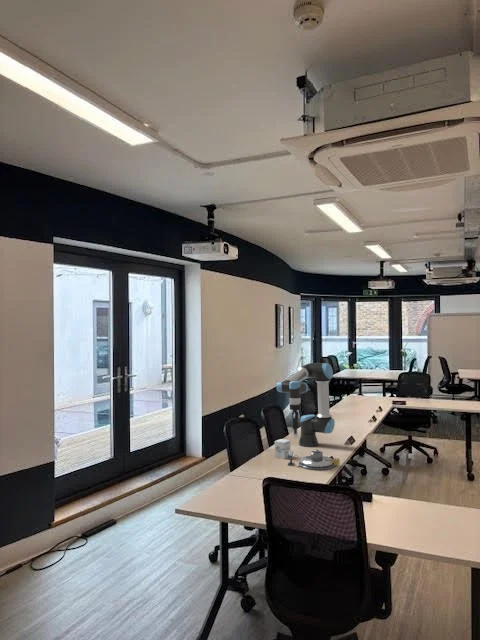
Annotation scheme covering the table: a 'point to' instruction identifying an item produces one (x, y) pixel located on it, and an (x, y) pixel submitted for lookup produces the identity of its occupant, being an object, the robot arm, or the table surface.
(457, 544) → the table surface
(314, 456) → the cover
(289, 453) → the dial post
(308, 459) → the turntable
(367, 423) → the table surface
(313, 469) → the base
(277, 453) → the ink box
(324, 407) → the robot arm
